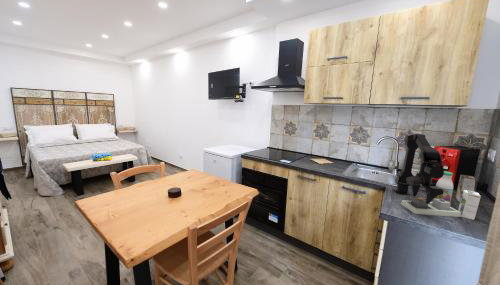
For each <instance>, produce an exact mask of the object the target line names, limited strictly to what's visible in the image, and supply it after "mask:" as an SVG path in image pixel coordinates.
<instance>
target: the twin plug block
mask: <svg viewBox="0 0 500 285" xmlns="http://www.w3.org/2000/svg"><path fill="white" fill-rule="evenodd" d="M432 202H433V203H432V206H433V207H434V208H436V209H438V210H446V211H449V209H450V207H451V204H452V203H451V202H450V203H449V202H447V201H445V200H444V199H433V200H432Z"/></svg>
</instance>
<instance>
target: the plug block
mask: <svg viewBox="0 0 500 285" xmlns="http://www.w3.org/2000/svg"><path fill="white" fill-rule="evenodd" d="M411 201H412V202H411V205H412V206H414V207H415V208H417V209H427V208H428V204H427V203H426V198H424V197H422V196H421V197H420V196H412V198H411Z"/></svg>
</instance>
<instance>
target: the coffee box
mask: <svg viewBox="0 0 500 285" xmlns="http://www.w3.org/2000/svg"><path fill="white" fill-rule="evenodd" d="M478 182H479V180H478V178H476V177H475V176H473V175H467V174H460V177H459V180H458V184H457V189H456V194H455V199H456V200H457V201H458V202H459V203H460V202H461V198H462V194H463V191H464V190H469V191H473V192H477V186H478Z"/></svg>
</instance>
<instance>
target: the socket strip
mask: <svg viewBox="0 0 500 285" xmlns="http://www.w3.org/2000/svg"><path fill="white" fill-rule="evenodd" d="M411 202H412V200H405V199H403V200H402V199H401V202H400V205H402V206H403V207H405V209H407V210H409V211H411V212H412V213H413V214H415V215H416V214H417V215H427V216H438V217H439V216H440V217H442V216H443V217H455V218H456V217H458V218H460V217H461V216H460V215H461V212H459V211H458V209H456V208H454V207H451V206H450V209H449V211H446V210H438V209H436V208H434V207H433V206H432V203H433V201H431V202H430V203H429V204H428V208H427V209H417V208H415V207H414V206H412V205H411Z"/></svg>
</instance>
